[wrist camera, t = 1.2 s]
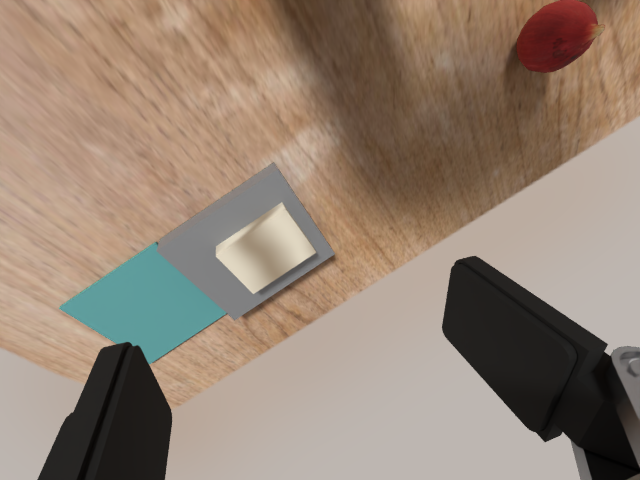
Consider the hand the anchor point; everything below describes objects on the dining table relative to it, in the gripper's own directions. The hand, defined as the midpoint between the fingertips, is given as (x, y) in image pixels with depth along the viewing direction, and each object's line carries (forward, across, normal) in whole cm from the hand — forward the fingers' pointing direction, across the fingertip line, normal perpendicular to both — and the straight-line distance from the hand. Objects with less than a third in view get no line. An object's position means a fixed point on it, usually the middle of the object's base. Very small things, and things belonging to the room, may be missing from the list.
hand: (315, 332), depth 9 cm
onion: (+24, -30, -8) cm, 40 cm away
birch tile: (+22, 0, +9) cm, 24 cm away
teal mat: (+25, +13, +15) cm, 32 cm away
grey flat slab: (+25, +1, +9) cm, 27 cm away
